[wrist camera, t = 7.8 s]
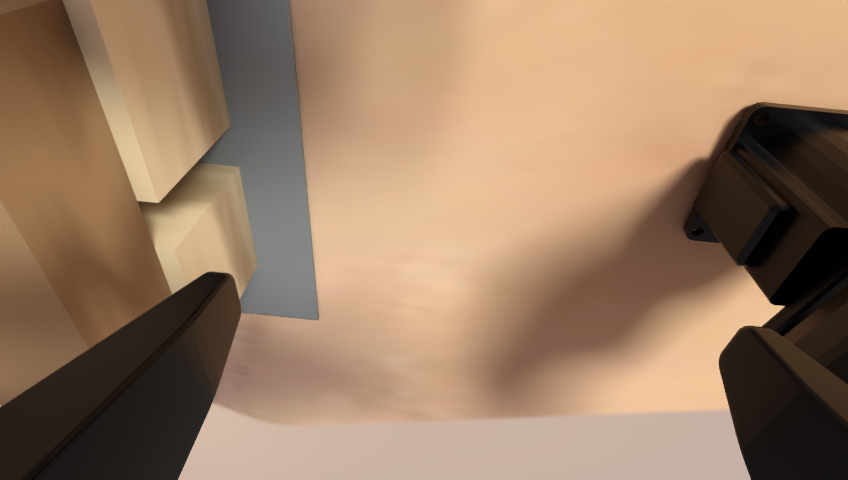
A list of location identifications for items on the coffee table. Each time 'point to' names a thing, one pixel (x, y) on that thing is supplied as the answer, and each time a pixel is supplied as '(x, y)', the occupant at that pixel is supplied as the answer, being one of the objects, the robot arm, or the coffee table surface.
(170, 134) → the beech cube
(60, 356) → the walnut lintel
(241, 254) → the beech cube
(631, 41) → the coffee table surface
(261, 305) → the build mat
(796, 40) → the coffee table surface
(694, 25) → the coffee table surface
